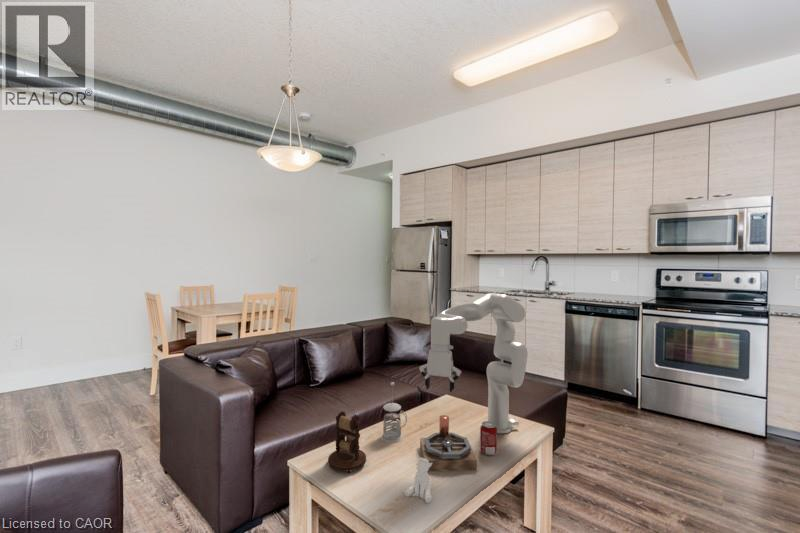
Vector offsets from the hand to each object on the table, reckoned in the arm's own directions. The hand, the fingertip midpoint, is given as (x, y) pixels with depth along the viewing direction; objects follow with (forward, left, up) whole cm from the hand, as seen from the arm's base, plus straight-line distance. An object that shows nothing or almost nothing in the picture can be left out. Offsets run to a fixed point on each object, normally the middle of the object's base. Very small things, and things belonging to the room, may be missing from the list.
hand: (439, 389), depth 154 cm
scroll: (+37, +5, -28) cm, 46 cm away
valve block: (-3, +2, -28) cm, 28 cm away
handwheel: (-3, +2, -24) cm, 24 cm away
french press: (+18, -16, -28) cm, 37 cm away
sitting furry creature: (+10, +24, -28) cm, 38 cm away
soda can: (-21, -2, -28) cm, 35 cm away
